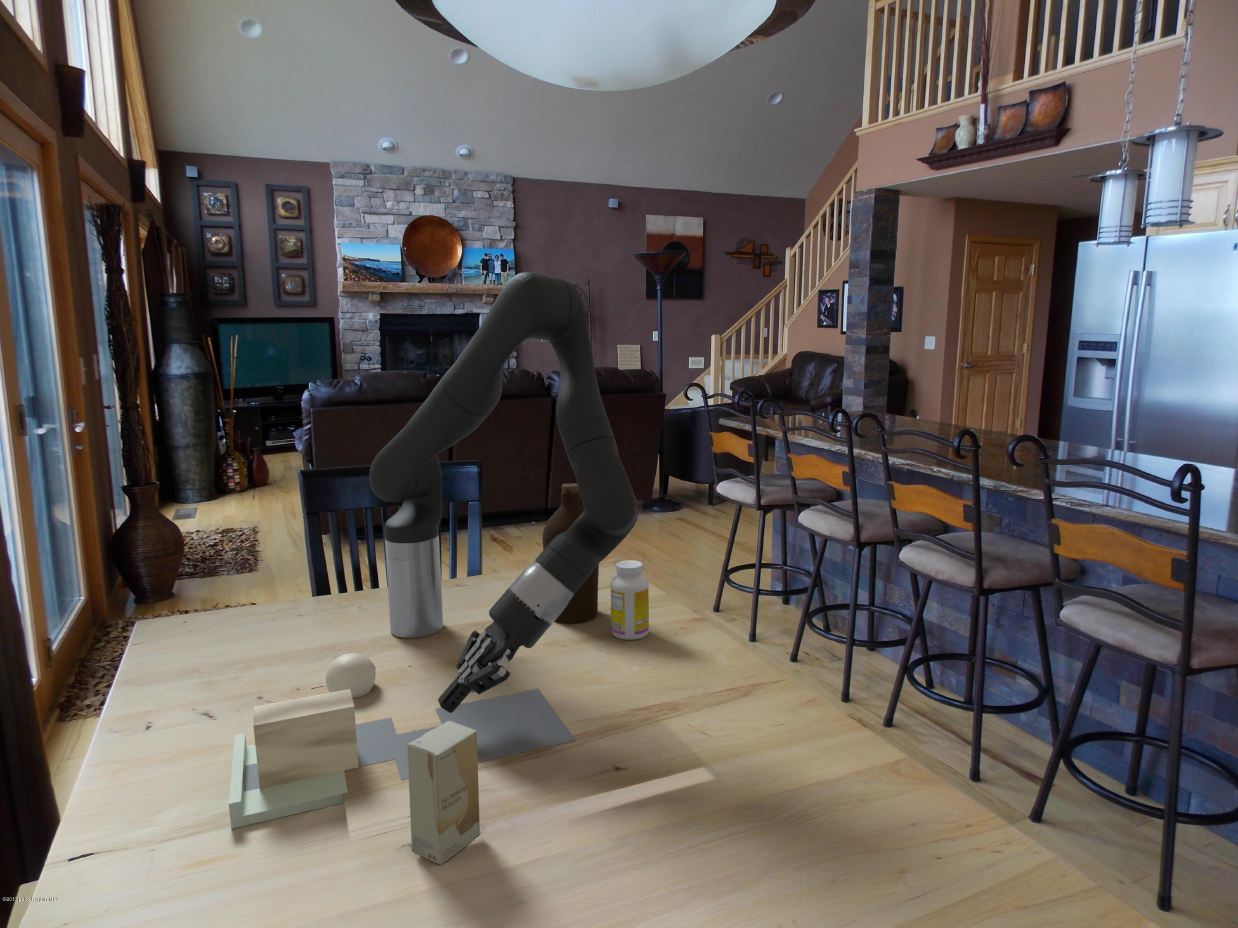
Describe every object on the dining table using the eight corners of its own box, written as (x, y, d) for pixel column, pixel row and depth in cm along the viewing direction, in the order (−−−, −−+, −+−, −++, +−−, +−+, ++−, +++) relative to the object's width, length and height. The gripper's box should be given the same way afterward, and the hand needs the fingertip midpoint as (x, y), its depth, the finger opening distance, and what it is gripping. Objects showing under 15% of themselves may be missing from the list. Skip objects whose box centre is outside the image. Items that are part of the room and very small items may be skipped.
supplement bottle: (650, 627, 143) (650, 558, 140) (647, 641, 136) (647, 570, 134) (613, 626, 143) (612, 557, 141) (609, 640, 137) (608, 569, 135)
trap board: (236, 756, 101) (234, 734, 101) (538, 696, 117) (537, 676, 116) (231, 828, 87) (228, 803, 86) (576, 748, 102) (575, 727, 102)
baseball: (387, 689, 119) (385, 647, 118) (358, 711, 113) (354, 667, 111) (349, 683, 121) (346, 642, 120) (318, 705, 115) (314, 661, 113)
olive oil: (612, 612, 150) (611, 483, 146) (574, 629, 142) (572, 493, 137) (570, 600, 156) (568, 476, 152) (532, 616, 148) (528, 485, 144)
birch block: (259, 767, 96) (253, 706, 95) (354, 747, 101) (350, 688, 99) (259, 789, 92) (253, 725, 90) (358, 767, 96) (354, 706, 95)
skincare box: (440, 867, 80) (434, 756, 78) (410, 852, 83) (403, 744, 80) (483, 832, 86) (478, 728, 83) (453, 819, 88) (448, 717, 86)
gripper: (498, 572, 110) (413, 671, 107) (526, 603, 98) (431, 715, 95) (536, 603, 113) (454, 700, 110) (568, 637, 101) (476, 746, 98)
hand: (444, 707), depth 103 cm, fingers closed
